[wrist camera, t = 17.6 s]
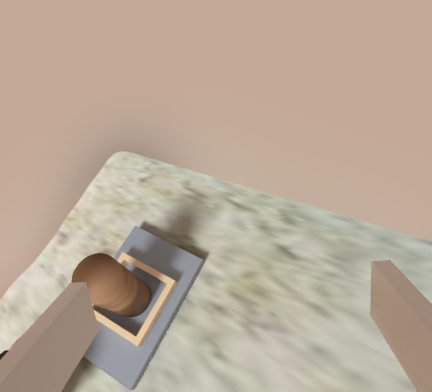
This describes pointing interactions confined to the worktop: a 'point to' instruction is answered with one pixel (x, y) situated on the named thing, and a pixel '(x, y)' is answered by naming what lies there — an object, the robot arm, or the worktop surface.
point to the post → (113, 285)
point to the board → (155, 313)
